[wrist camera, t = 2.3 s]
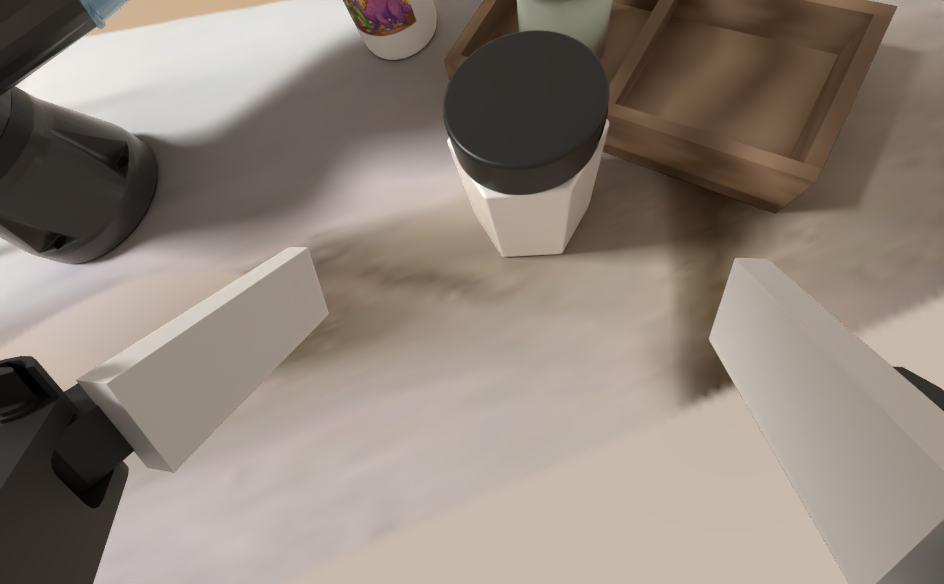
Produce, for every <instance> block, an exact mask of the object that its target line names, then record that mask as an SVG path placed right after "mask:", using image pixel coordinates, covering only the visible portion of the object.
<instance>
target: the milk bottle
mask: <svg viewBox="0 0 944 584" xmlns="http://www.w3.org/2000/svg"><path fill="white" fill-rule="evenodd" d="M343 2H344V3H345V5H346V7H347V9H348V11H349V13H350V15H351V17H352V19H353V21H354V23H355V25H356V27H357V29H358V31H359V33H360V35H361V36H362V38H363V40H364V42H365V44H366V46H367V47H368V49H369V50H370V51H371V52H373V53H374V54H375V55H377V56H378V57H381V58H383V59H387V60H398V59H403V58H406V57H410V56H412V55H414V54H416V53H417V52H419V51H420V50H422V49H423V48H424V47H425V46H426V45H427V44H428V43H429V41H430V40H431V39H432V37H433V35H434V33H435V29H436V25H437V14H436V10H435V6H434V2H433V0H343Z"/></svg>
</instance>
